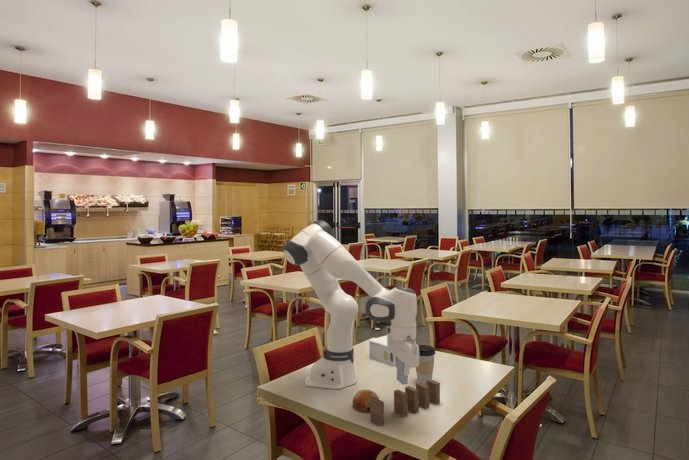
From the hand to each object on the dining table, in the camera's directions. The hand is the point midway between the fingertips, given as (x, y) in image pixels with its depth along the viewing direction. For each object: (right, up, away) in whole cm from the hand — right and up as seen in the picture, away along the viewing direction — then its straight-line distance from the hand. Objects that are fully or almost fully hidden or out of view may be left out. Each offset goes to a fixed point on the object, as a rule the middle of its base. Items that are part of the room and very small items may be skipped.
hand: (402, 371), depth 159 cm
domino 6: (+14, -16, +12) cm, 24 cm away
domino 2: (0, -4, 0) cm, 4 cm away
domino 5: (+9, -16, +9) cm, 21 cm away
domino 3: (0, -16, +3) cm, 17 cm away
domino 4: (+4, -16, +6) cm, 18 cm away
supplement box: (+2, -14, +62) cm, 64 cm away
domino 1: (-9, -17, -3) cm, 19 cm away
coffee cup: (+14, -15, +32) cm, 38 cm away
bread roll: (-12, -17, +10) cm, 23 cm away
